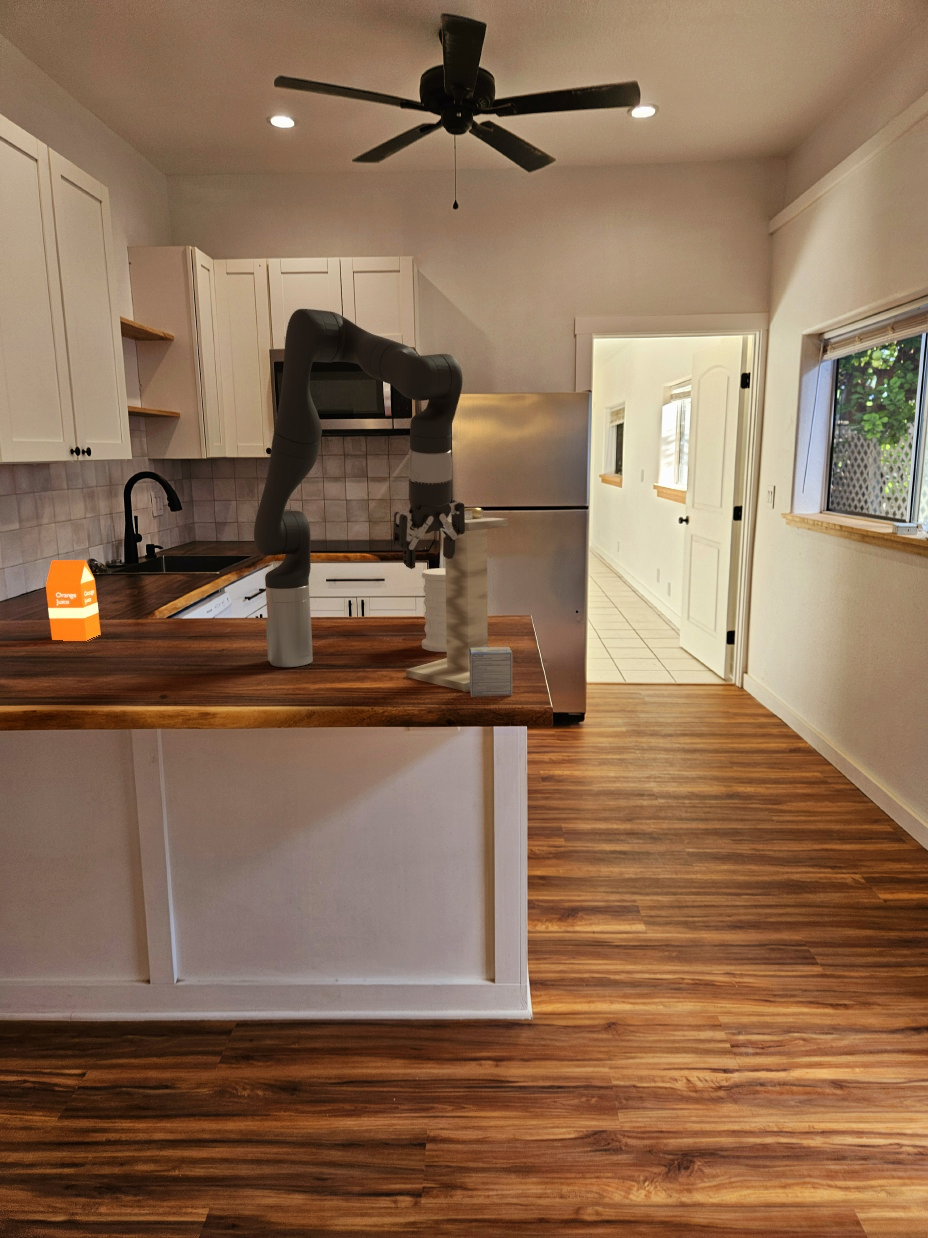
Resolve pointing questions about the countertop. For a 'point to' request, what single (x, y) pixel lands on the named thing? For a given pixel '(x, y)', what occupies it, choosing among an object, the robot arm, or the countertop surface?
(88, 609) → the orange juice
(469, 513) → the slotted wooden block
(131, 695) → the countertop surface
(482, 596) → the tool stand
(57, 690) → the countertop surface
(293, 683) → the countertop surface
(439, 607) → the decorative container
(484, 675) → the medicine box
